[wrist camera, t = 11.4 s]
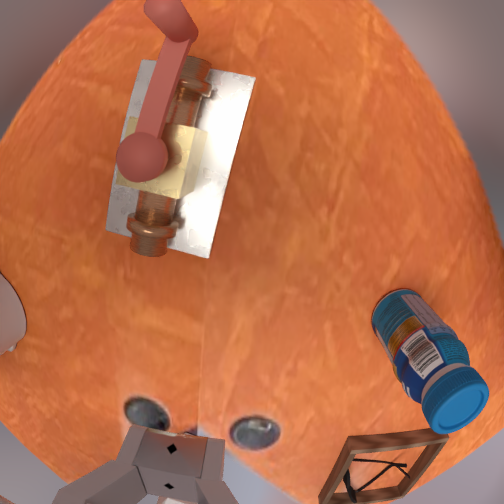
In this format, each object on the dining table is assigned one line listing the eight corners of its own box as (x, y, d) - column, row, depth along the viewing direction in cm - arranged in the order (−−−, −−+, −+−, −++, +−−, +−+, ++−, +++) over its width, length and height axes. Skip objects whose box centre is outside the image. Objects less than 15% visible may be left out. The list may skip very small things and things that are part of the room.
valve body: (209, 256, 39) (193, 286, 31) (108, 228, 39) (71, 249, 30) (255, 79, 33) (252, 56, 24) (144, 60, 32) (112, 39, 23)
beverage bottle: (426, 282, 39) (508, 366, 20) (419, 334, 42) (482, 427, 23) (370, 290, 40) (434, 390, 21) (367, 343, 42) (414, 450, 23)
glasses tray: (318, 496, 56) (319, 507, 53) (348, 436, 48) (351, 450, 45) (399, 487, 56) (402, 497, 52) (443, 426, 48) (449, 437, 45)
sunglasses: (405, 473, 54) (410, 489, 49) (347, 492, 56) (350, 508, 51) (406, 437, 49) (413, 455, 45) (337, 459, 51) (340, 478, 47)
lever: (161, 186, 27) (129, 197, 21) (119, 174, 27) (79, 183, 21) (211, 26, 23) (195, -8, 16) (167, 20, 23) (140, -12, 16)
